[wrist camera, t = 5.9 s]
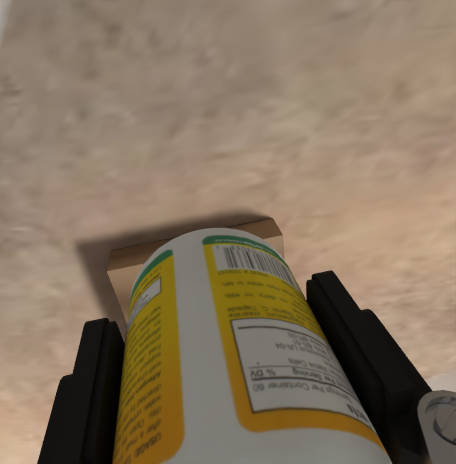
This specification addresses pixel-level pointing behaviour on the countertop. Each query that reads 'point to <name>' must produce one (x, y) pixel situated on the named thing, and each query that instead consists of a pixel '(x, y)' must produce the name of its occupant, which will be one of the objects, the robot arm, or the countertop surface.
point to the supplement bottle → (232, 364)
